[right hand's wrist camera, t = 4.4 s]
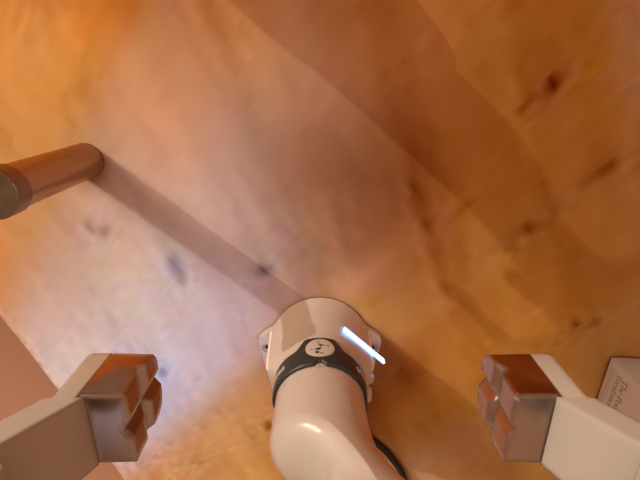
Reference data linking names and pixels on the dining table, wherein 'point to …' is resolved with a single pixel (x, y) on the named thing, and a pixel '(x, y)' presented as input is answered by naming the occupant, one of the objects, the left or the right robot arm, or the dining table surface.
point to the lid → (13, 191)
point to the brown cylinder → (60, 169)
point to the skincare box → (622, 386)
